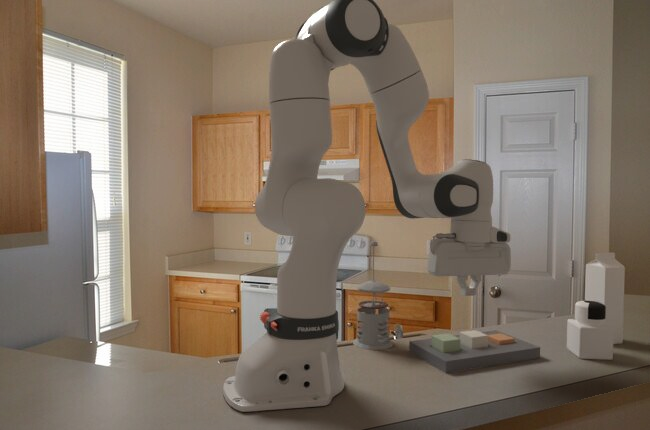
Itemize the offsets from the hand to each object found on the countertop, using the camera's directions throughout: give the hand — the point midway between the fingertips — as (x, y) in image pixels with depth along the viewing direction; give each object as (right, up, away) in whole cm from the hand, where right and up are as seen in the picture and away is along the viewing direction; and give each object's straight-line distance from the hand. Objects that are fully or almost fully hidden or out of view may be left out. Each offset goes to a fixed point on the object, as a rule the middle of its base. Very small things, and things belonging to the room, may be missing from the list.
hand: (468, 295), depth 105 cm
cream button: (+2, -12, +1) cm, 12 cm away
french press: (-20, -14, +10) cm, 26 cm away
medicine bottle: (+28, -14, +2) cm, 31 cm away
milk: (+37, -14, +12) cm, 41 cm away
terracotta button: (+9, -13, +4) cm, 16 cm away
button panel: (+2, -14, +1) cm, 14 cm away
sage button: (-5, -12, -1) cm, 13 cm away
